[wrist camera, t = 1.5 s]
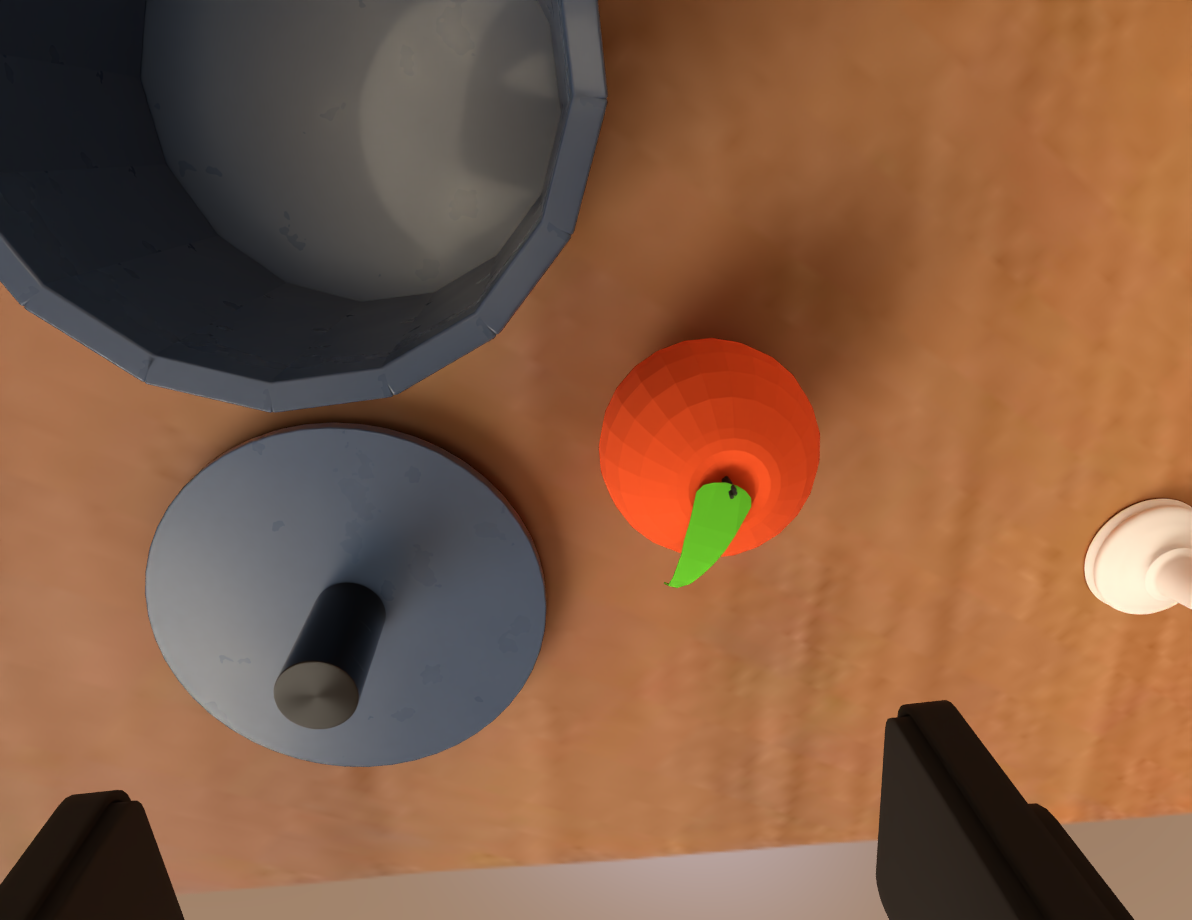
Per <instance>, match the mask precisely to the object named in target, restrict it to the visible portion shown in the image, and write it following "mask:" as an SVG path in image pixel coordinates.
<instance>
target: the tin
mask: <svg viewBox="0 0 1192 920" xmlns="http://www.w3.org/2000/svg"><path fill="white" fill-rule="evenodd" d="M607 97H608V91H607V82H606V72H605V62H604V53H603V43H602V34H601V24H600V15H599V5H598V0H0V281H1V283H2V284H3V285H4V286H5V287H6V288H7V290H8V291H9V292H10V293H11V294H12V295H13V297H14V298H15V299H16V300H17V301H18V303H19V304H20V305H22V306H24V308H25V309H26V310H28V311H30V312H31V313H33V314H34V315H36V316H38V317H39V318H41V319H42V320H44V321H46V322H47V323H49V324H50V325H52V326H54V327H55V328H57V329H59V330H60V331H62V332H63V333H65V334H67V335H68V336H70V337H71V338H73V339H75V340H76V341H78V342H80V343H81V344H83V345H84V346H86V347H88V348H89V349H91V350H92V351H94V352H96V353H97V354H99V355H100V356H102V357H104V358H105V359H107V360H109V361H110V362H112V363H113V364H115V365H117V366H118V367H120V368H121V369H123V370H125V371H126V372H128V373H129V374H131V375H133V376H134V377H136V378H138V379H139V380H141V381H143V382H145V383H146V384H150V385H154V386H158V387H163V388H167V389H171V390H175V391H180V392H184V393H188V394H193V395H197V396H201V397H206V398H210V399H214V400H219V401H223V402H227V403H232V404H236V405H240V406H245V407H249V408H253V409H257V410H262V411H266V412H283V411H290V410H298V409H305V408H313V407H320V406H328V405H335V404H342V403H350V402H357V401H365V400H372V399H380V398H387V397H392V396H393V395H396V394H399V393H401V392H402V391H404V390H406V389H408V388H409V387H411V386H413V385H414V384H416V383H418V382H420V381H421V380H423V379H425V378H426V377H428V376H430V375H432V374H433V373H435V372H437V371H439V370H440V369H442V368H444V367H445V366H447V365H449V364H451V363H452V362H454V361H456V360H457V359H459V358H461V357H463V356H464V355H466V354H468V353H469V352H471V351H473V350H475V349H476V348H478V347H480V346H481V345H483V344H485V343H487V342H488V341H490V340H492V339H494V338H495V336H496V334H499V333H500V332H501V331H502V330H503V328H504V327H505V326H506V324H507V323H508V322H509V320H510V319H511V318H512V316H513V315H514V314H515V312H516V311H517V309H518V308H519V307H520V305H521V304H522V303H523V301H524V300H525V299H526V297H527V296H528V295H529V293H530V292H531V291H532V289H533V288H534V287H535V285H536V284H537V283H538V281H539V280H540V279H541V277H542V276H543V275H544V273H545V272H546V271H547V269H548V268H549V267H550V265H551V264H552V263H553V261H554V260H555V258H556V257H557V256H558V254H559V253H560V252H561V250H562V249H563V248H564V246H565V245H566V244H567V242H568V241H569V240H570V238H571V234H573V233H574V230H575V226H576V222H577V218H578V214H579V211H580V207H581V203H582V199H583V195H584V191H585V187H586V184H587V180H588V176H589V172H590V168H591V164H592V160H593V157H594V153H595V149H596V145H597V141H598V137H599V133H600V130H601V126H602V122H603V118H604V114H605V110H606V107H607V103H608V101H607Z"/></svg>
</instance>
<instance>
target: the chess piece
mask: <svg viewBox="0 0 1192 920" xmlns="http://www.w3.org/2000/svg"><path fill="white" fill-rule="evenodd" d="M1084 572H1085V579H1086V582H1087V585H1088V587H1089V589H1090V590H1091V592H1092V593H1093V594H1094V595H1095V596H1096V597H1097V598H1098V599H1099V600H1101V601H1102V602H1104V603H1106V604H1108V605H1110V606H1111V607H1113V608H1115V609H1117V610H1119V611H1122V612H1125V613H1130V614H1150V613H1155V612H1159V611H1162V610H1165V609H1168V608H1170V607H1172V606H1174V605H1176V604H1178V603H1180V604H1182V605H1184V606H1186V607H1188V608H1190V609H1192V507H1191V506H1189V505H1187V504H1185V503H1183V502H1181V501H1177V500H1173V499H1152V500H1147V501H1143V502H1140V503H1137V504H1135V505H1132V506H1130V507H1128V508H1126V509H1124V510H1123V511H1121V512H1119V513H1118V514H1117V515H1115V516H1114V517H1113V518H1111V519H1110V520H1109V521H1108V522H1107V523H1106V524H1105V525H1104V526H1103V527H1102V528H1101V529H1100V530H1099V532H1098V533H1097V534H1096V536H1095V537H1094V539H1093V541H1092V542H1091V544H1090V547H1089V549H1088V552H1087V555H1086V559H1085V566H1084Z"/></svg>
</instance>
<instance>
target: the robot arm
mask: <svg viewBox="0 0 1192 920" xmlns="http://www.w3.org/2000/svg"><path fill="white" fill-rule="evenodd" d="M876 880H877V887H878V891H879V895H880V899H881V901H882V904H883V907H884V909H885V911H886V913H887V916H888V918H889V920H1134V919H1133V917H1132V916H1131V915H1130V913H1129V912H1128V911H1127V910H1126V908H1125V907H1124V906H1123V904H1122V903H1121V902H1120V901H1119V899H1118V898H1117V897H1116V895H1115V894H1114V893H1113V892H1112V890H1111V889H1110V888H1109V887H1108V885H1107V884H1106V883H1105V881H1104V880H1103V879H1102V877H1101V876H1100V875H1099V874H1098V872H1097V871H1096V870H1095V868H1094V867H1093V866H1092V865H1091V863H1090V862H1089V861H1088V860H1087V858H1086V857H1085V856H1084V854H1083V853H1082V852H1081V850H1080V849H1079V848H1078V847H1077V845H1076V844H1075V843H1074V841H1073V840H1072V839H1071V837H1070V836H1069V835H1068V834H1067V832H1066V831H1065V830H1064V828H1063V827H1062V826H1061V825H1060V823H1059V822H1058V821H1057V819H1056V818H1055V817H1054V816H1053V815H1052V814H1051V813H1050V812H1049V811H1048V810H1047V809H1046V808H1044V807H1042V806H1040V805H1039V804H1028V803H1027V802H1026V801H1025V799H1024V798H1023V797H1022V795H1021V794H1020V793H1019V791H1018V790H1017V789H1016V787H1015V786H1014V785H1013V783H1012V782H1011V781H1010V779H1009V778H1008V777H1007V775H1006V774H1005V773H1004V771H1003V770H1002V769H1001V767H1000V766H999V765H998V763H997V762H996V761H995V759H994V758H993V757H992V755H991V754H990V753H989V751H988V750H987V749H986V747H985V746H984V745H983V743H982V742H981V741H980V739H979V738H978V737H977V735H976V734H975V733H974V731H973V730H972V729H971V727H970V726H969V725H968V723H967V722H966V721H965V719H964V718H963V717H962V715H961V714H960V713H959V711H958V710H957V709H956V707H955V706H954V705H953V704H952V703H951V702H949V701H947V700H942V701H933V702H924V703H914V704H905V705H902V706H901V707H900V709H899V711H898V717H897V718H890V719H888V720H887V722H886V727H885V741H884V756H883V772H882V787H881V803H880V818H879V834H878V850H877V865H876ZM0 920H184V917H183V914H182V911H181V909H180V906H179V903H178V901H177V898H176V895H175V892H174V889H173V887H172V884H171V881H170V879H169V876H168V873H167V870H166V868H165V865H164V862H163V859H162V857H161V854H160V851H159V848H158V846H157V843H156V840H155V838H154V835H153V832H152V829H151V827H150V824H149V821H148V818H147V816H146V813H145V810H144V808H143V806H142V804H141V803H140V802H138V801H131V800H130V798H129V796H128V794H126V793H125V792H124V791H122V790H113V791H104V792H95V793H85V794H76V795H71V796H69V797H67V798H65V800H64V801H63V802H62V803H61V804H60V805H59V806H58V807H57V809H56V810H55V811H54V813H53V814H52V815H51V817H50V818H49V820H48V821H47V822H46V824H45V825H44V826H43V828H42V829H41V830H40V832H39V833H38V834H37V836H36V837H35V838H34V840H33V841H32V843H31V844H30V845H29V847H28V848H27V849H26V851H25V852H24V853H23V855H22V856H21V857H20V859H19V860H18V862H17V863H16V864H15V866H14V867H13V868H12V870H11V871H10V872H9V874H8V875H7V876H6V878H5V879H4V881H3V882H2V883H1V885H0Z"/></svg>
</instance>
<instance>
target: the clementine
mask: <svg viewBox="0 0 1192 920" xmlns="http://www.w3.org/2000/svg"><path fill="white" fill-rule="evenodd" d="M599 454H600V464H601V473H602V476H603V478H604V481H605V483H606V486H607V488H608V491H609V493H610V496H611V498H612V500H613V502H614V503H615V505H616V507H617V508H618V509H619V511H620V512H621V513H622V515H623V516H624V517H625V518H626V520H627V521H628V522H629V524H630V525H631V526H632V527H633V528H634V529H636V530H637V531H638V532H640V533H641V534H642V535H644V536H645V537H646V538H648V539H649V540H651V541H652V542H654V543H656V544H659V545H661V546H664V547H666V548H669V549H671V550H674V551H676V552H679V553H681V556H680V559H679V562H678V565H677V568H676V570H675V573H674V576H673V578H672V580H671V581H670V583H666V582H664V584H666V585H668V586H672V587H676V588H678V587H682V586H685V585H688V584H691V583H692V582H694V581H695V580H696V579H697V578H699V577H700V576H701V575H703V574H704V573H705V572H706V571H707V570H708V569H709V568H710V567H711V566H712V565H713V564H714V563H715V562H716V561H717V560H718V559H719V557H722V556H731V555H736V554H739V553H742V552H745V551H747V550H750V549H753V548H756V547H759V546H760V545H762V544H763V543H765V542H766V541H768V540H770V539H771V538H773V537H774V536H776V535H778V534H779V533H780V532H781V531H782V530H783V529H784V528H785V527H786V526H787V525H788V524H789V523H790V522H791V521H792V520H793V519H794V518H795V517H796V516H797V515H798V513H799V512H800V510H801V508H802V507H803V505H804V503H805V502H806V500H807V498H808V497H809V495H810V493H811V489H812V486H813V482H814V479H815V476H816V472H817V468H818V464H819V456H820V432H819V429H818V425H817V422H816V418H815V414H814V411H813V408H812V406H811V404H810V402H809V400H808V398H807V397H806V395H805V393H804V392H803V390H802V389H801V387H800V385H799V384H798V382H797V381H796V379H795V377H794V376H793V375H792V374H791V373H790V372H789V371H788V370H787V369H785V368H784V367H783V366H782V365H781V364H780V363H779V362H777V361H776V360H775V359H774V358H773V357H771V356H769V355H767V354H764V353H762V352H760V351H758V350H756V349H754V348H751V347H749V346H747V345H745V344H742V343H739V342H734V341H728V340H722V339H715V338H706V339H697V340H687V341H682V342H680V343H677V344H674V345H672V346H669V347H666V348H663V349H661V350H658V351H657V352H655V353H654V354H652V355H651V356H649V357H648V358H646V359H645V360H644V361H642V362H641V363H639V364H638V365H636V366H635V367H634V368H633V369H632V370H631V372H630V373H629V374H628V375H627V376H626V377H625V379H624V380H623V381H622V382H621V383H620V384H619V386H618V387H617V388H616V390H615V392H614V394H613V397H612V399H611V401H610V403H609V405H608V407H607V409H606V411H605V416H604V421H603V426H602V432H601V437H600V442H599Z"/></svg>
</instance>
